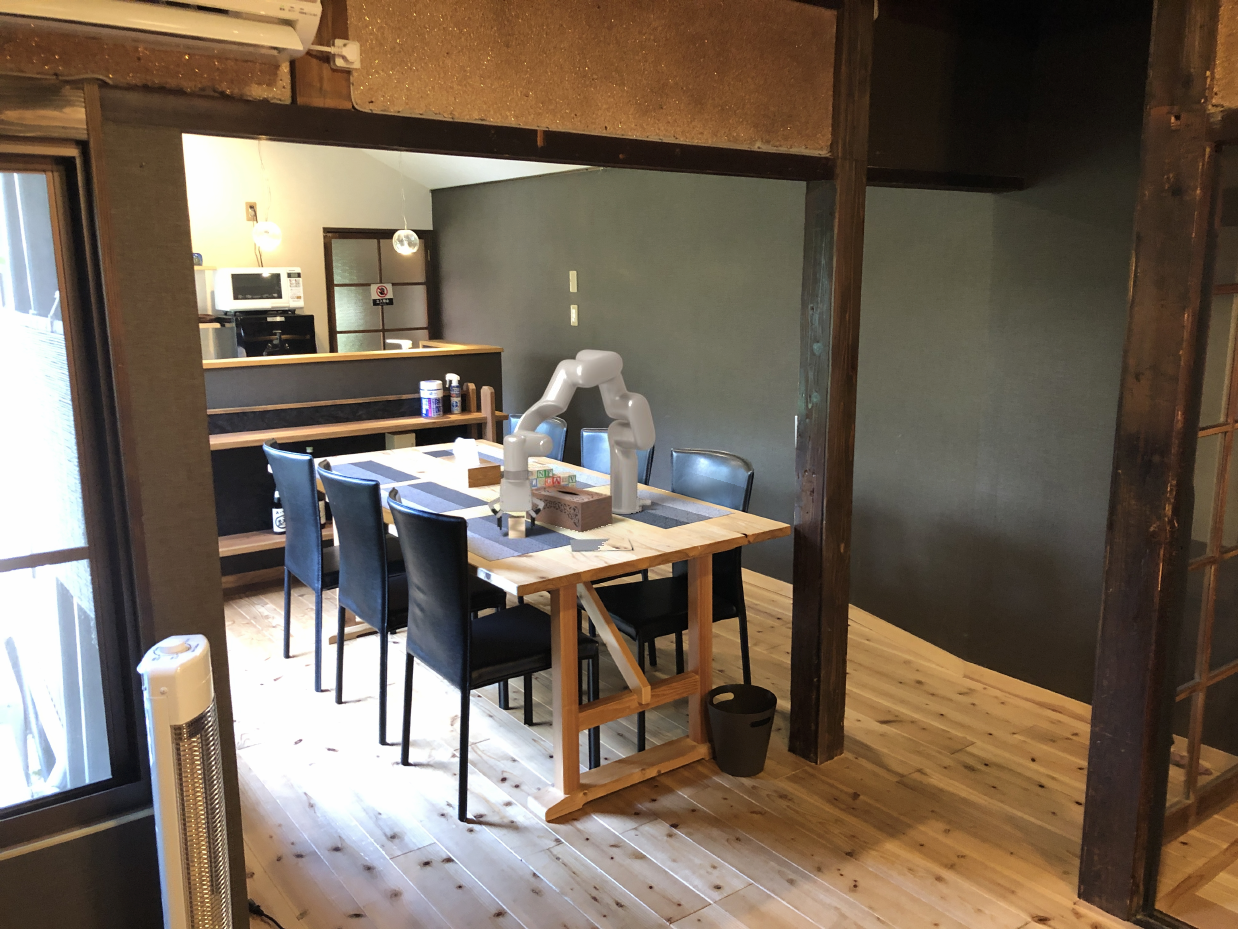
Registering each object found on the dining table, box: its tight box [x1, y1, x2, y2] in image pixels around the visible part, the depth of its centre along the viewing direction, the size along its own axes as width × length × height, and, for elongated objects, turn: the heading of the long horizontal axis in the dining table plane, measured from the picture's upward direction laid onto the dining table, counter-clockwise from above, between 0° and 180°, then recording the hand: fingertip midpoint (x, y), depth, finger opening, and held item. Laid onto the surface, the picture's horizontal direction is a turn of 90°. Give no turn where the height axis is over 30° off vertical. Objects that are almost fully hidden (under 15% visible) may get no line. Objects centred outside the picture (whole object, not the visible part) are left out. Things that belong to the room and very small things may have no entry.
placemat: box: [569, 538, 609, 552], centre depth 282 cm, size 18×12×1 cm, turn 96°
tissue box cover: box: [525, 484, 613, 533], centre depth 310 cm, size 26×14×10 cm, turn 48°
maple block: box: [508, 515, 526, 539], centre depth 291 cm, size 5×5×6 cm
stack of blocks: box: [528, 465, 577, 489], centre depth 340 cm, size 21×6×12 cm, turn 115°
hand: (516, 529), depth 291 cm, fingers open, 9 cm apart
